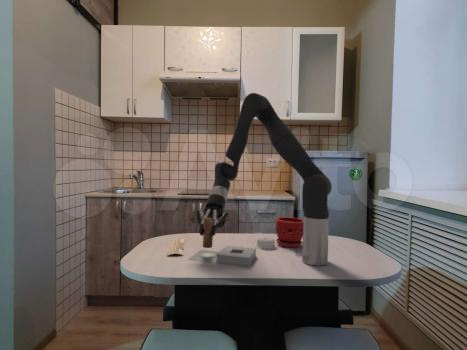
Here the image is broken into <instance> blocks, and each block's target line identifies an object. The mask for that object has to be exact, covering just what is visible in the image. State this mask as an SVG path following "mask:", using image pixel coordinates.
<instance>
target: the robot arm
mask: <svg viewBox="0 0 467 350" xmlns="http://www.w3.org/2000/svg"><path fill="white" fill-rule="evenodd" d="M255 118H256V119H257V120H258V121H259V122H260V123H261V124H262V126H263V127H264V129H265V130H266V131H267V135H268V137H269V142H270V143H271V145H272V147H273V149H275V151H276V152H277V153H278V155H279V156H280V158H281V159H282V160H283V161H285V162H286V163H287V164H288V165H289V166H290V167H292V168H293V170H295V171H296V172H297V174H298V175H299V176H300V177H301V179H302V180H303V184H302V192H301V193H302V196H301V200H302V201H301V207H302V210H303V219H302V220H303V237H302V250H301V251H302V255H301V261H302V263H305V264H307V265H310V266H328V264H329V263H328V257H329V222H330V221H329V219H330V211H329V207H328V196H329V195H330V193H331V191H332V182H331V179H329V177H328V176H327V175H325V173H324V172H323V171H322V170H321V169H320V168H319V167H318V166H317V165H316V164H315V163H314V161H313V160H312V158H311V157H310V156H309V155H308V153H307V151H306V150H305V148H304V147H303V146H302V144H301V143H300V141H299V140H298V138H297V137H296V135H295V134H294V133H293V132H292V131H291V130H290V129H289V127H288V126H287V125H286V124H285V123H284V121H283V120H282V119H281V118H280V117H279V116H278V114H277V112H276V111H275V109H274V107H273V106H272V103H271V102H270V100H269V99H268V98H267V97H266V96H264V95H261V94H259V93H256V92H251V93H250V92H249V94H247V95H246V96H245V98H244V99H243V101H242V104H241V108H240V112H239V115H238V118H237V123H236V126H235V129H234V132H233V134H232V135H233V136H232V137H231V140H230V142H229V145H228V147H227V149H226V151H225V157H226V158H228V160H230V161H231V162H232V163H233V164H231V163H229V162H227V161H225V160H220V161H218V162H217V163H216V164H215V167H214V182H213V185H212V188H211V190H210V192H209V196H208V197H207V201H206V204H205V207H204V208H203V210H196V211H195V213H196V222H197V225H198V226H199V230H198V232H199V233H198V234H199V235H200V236H203V230H204V218H205V217H211V218H213V226H212V229H211V232H210V235H211V237H213V238H214V236H215V235H216V232H217V229H218V228H220V229H222V228H223V226H225V224H226V223H227V221H228V220H229V219H230V215H229V213H228V212H224V210H225V207H226V204H227V201H228V197H229V196H228V195H229V191H230V188H231V181H232V182H233V181H234V180H236V178H237V176H238V173H239V166H240V162H241V158H242V157H243V154H244V152H245V149H246V147H247V145H248V139H249V131H250V127H251V124H252V123H253V121H254V119H255ZM220 218H221V219H220ZM219 219H220V220H219Z"/></svg>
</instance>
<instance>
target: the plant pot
mask: <svg viewBox="0 0 467 350" xmlns="http://www.w3.org/2000/svg"><path fill="white" fill-rule="evenodd" d="M275 231H276V236H277V238H276V240H275V241H276V243H277V244H278V245H279V246H282V247H286V248H298V247H301V245H303V219H302V218H296V217H288V216H287V217H286V216H282V217H277V218H276V221H275Z"/></svg>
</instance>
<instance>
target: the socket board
mask: <svg viewBox="0 0 467 350" xmlns="http://www.w3.org/2000/svg"><path fill="white" fill-rule="evenodd" d="M256 257H257V248H256V247H244V246H234V245H225V246H224V247H222V249H221V250H220V251H215V250H207V249H205V250H204V249H200V250H198V251H197V252H196V253H195V254H193V255H192V256H191V257H189V258H188V259H187V260H188V261H194V262H195V261H197V262H204V263H211V264H220V265H228V266H237V267H244V268H249V267H250V266H251V265H252V263H253V261H254V260H255V259H256Z"/></svg>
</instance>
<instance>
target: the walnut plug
mask: <svg viewBox="0 0 467 350" xmlns="http://www.w3.org/2000/svg"><path fill="white" fill-rule="evenodd" d="M213 222H214V221H213V218H211V217H205V218H204V230H203V237H202V248H205V249H209V248H211V249H212V248H213V242H214V241H213V238H214V236H213V237H211V235H210V232H211V229H212V226H213Z"/></svg>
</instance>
